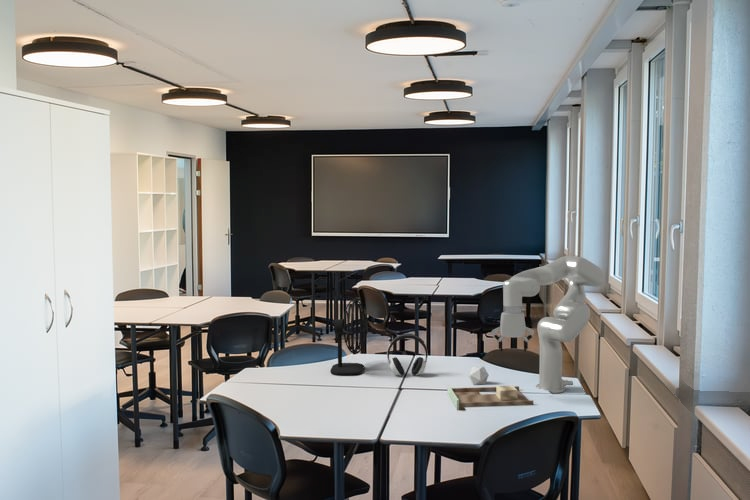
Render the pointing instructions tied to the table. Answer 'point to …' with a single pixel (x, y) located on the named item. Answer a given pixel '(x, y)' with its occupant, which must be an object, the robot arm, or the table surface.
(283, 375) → the table surface
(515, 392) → the block
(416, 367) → the headphones
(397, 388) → the table surface
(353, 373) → the desk fan
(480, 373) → the die
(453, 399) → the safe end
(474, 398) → the box
